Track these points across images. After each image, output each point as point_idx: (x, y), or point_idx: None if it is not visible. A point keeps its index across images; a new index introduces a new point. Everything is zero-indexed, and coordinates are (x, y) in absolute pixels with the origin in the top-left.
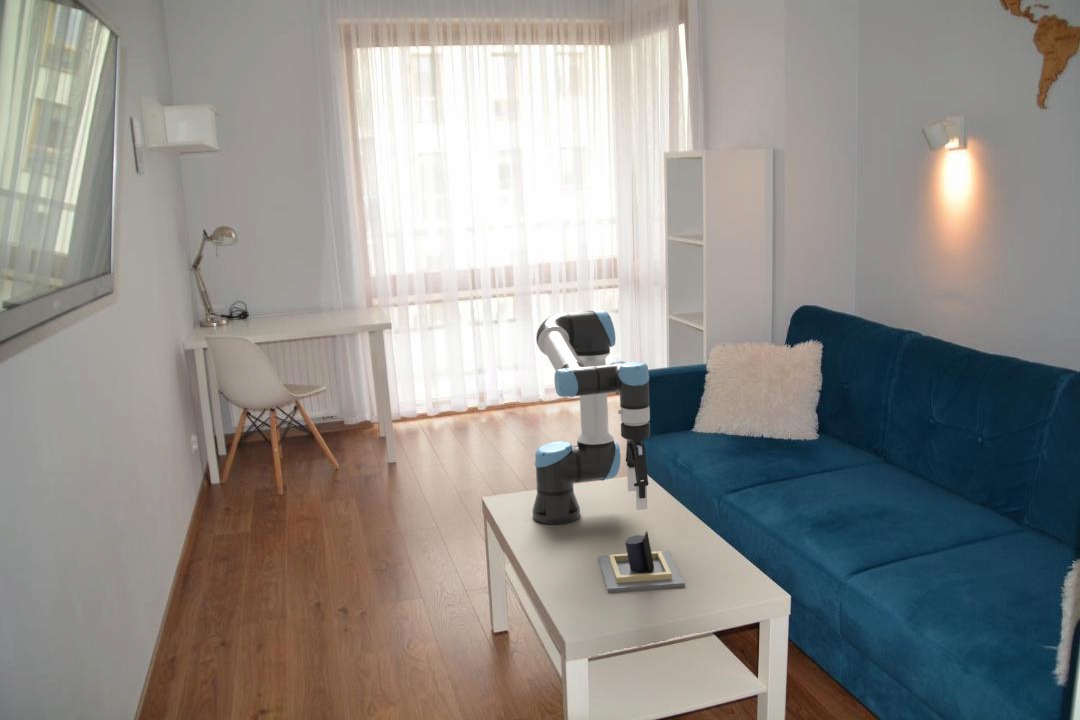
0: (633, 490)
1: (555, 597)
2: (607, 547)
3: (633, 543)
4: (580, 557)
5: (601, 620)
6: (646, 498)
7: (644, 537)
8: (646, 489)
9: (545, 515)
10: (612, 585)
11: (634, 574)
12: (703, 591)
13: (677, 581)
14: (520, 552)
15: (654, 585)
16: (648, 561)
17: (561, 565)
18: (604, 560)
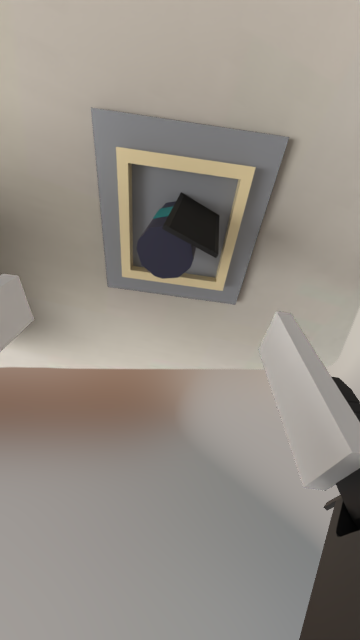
0: (24, 299)
1: (219, 359)
2: (54, 253)
3: (186, 266)
4: (98, 306)
5: (311, 330)
6: (313, 356)
7: (205, 248)
8: (350, 413)
9: None
10: (227, 294)
11: (222, 256)
12: (338, 87)
13: (271, 156)
14: (77, 366)
15: (261, 221)
16: (209, 222)
17: (124, 335)
18: (126, 280)
